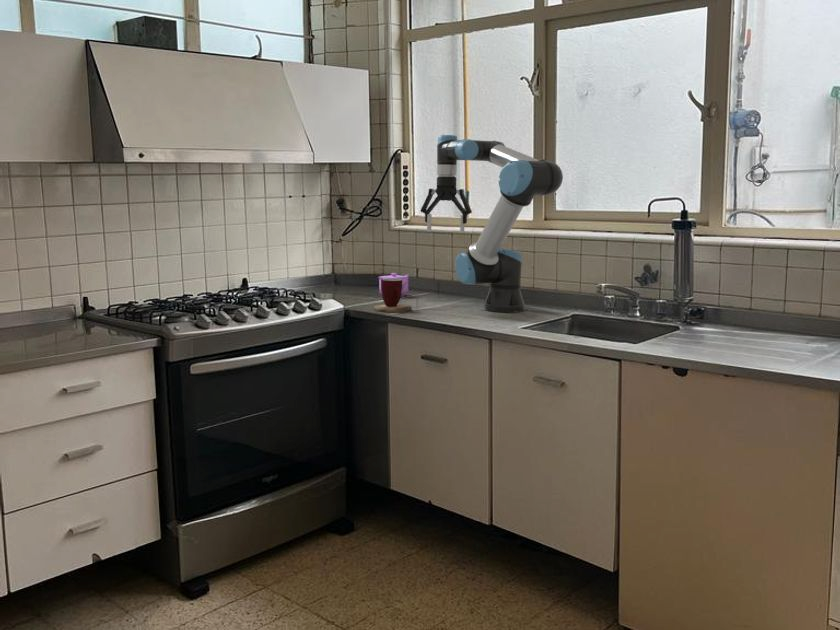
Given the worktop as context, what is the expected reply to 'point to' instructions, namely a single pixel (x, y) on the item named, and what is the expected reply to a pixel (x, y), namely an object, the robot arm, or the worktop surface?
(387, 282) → the mug
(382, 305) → the trivet
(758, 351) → the worktop surface
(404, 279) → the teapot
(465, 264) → the robot arm
